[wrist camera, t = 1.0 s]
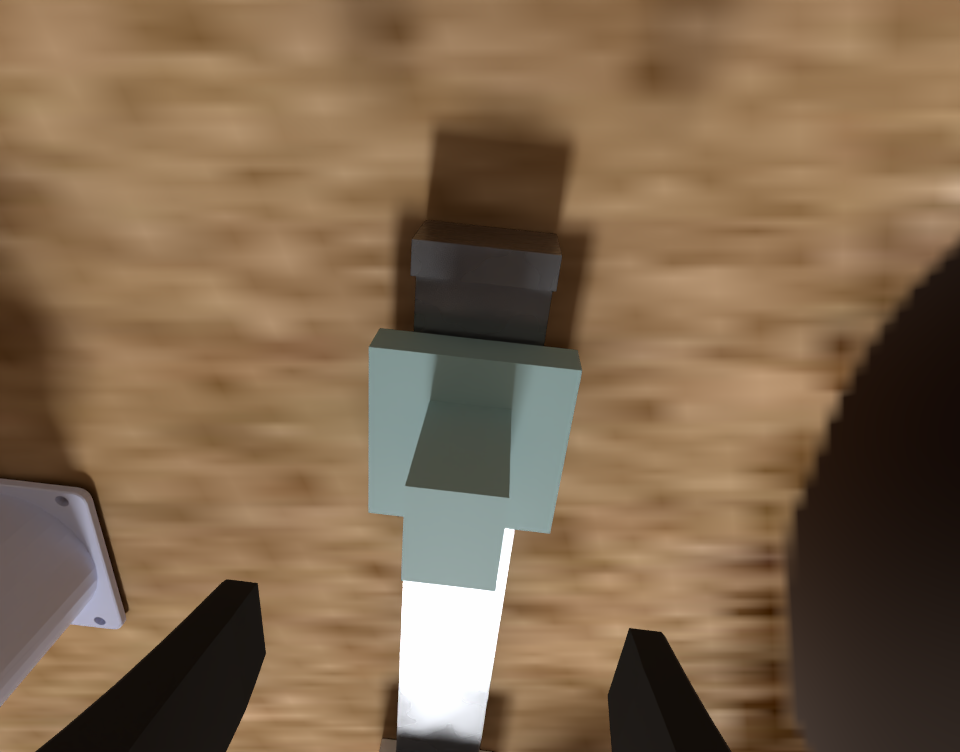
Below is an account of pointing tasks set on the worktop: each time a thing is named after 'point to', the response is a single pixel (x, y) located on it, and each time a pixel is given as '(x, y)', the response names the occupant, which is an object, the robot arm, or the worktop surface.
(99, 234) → the worktop surface
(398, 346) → the carriage
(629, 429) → the worktop surface
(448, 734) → the rail
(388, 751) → the white button housing
